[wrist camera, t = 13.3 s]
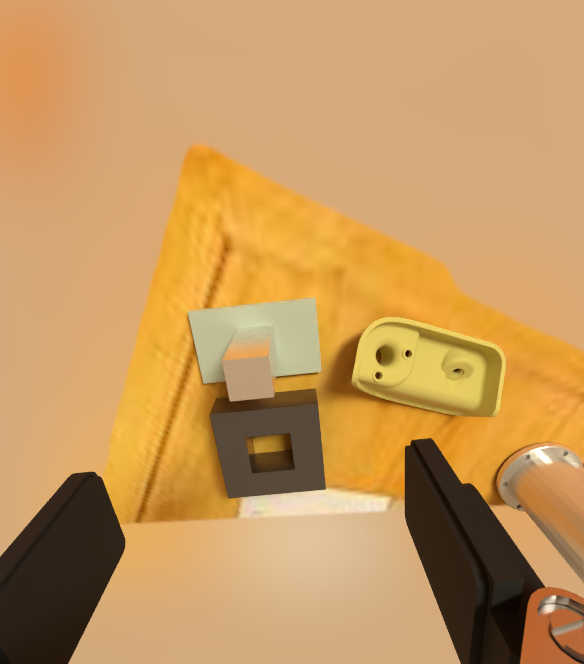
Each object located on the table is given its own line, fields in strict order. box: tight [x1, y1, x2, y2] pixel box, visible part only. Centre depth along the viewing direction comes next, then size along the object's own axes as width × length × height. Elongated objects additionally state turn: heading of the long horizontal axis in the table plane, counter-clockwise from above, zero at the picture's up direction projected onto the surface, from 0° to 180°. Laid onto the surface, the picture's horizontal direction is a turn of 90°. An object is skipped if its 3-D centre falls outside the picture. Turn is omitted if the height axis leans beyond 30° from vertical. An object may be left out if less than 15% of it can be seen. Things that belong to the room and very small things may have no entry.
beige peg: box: [222, 325, 278, 402], centre depth 37 cm, size 5×5×10 cm
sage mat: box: [188, 297, 322, 384], centre depth 42 cm, size 16×10×1 cm, turn 96°
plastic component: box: [351, 317, 506, 417], centre depth 42 cm, size 20×7×10 cm
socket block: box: [210, 389, 326, 498], centre depth 46 cm, size 14×14×4 cm
